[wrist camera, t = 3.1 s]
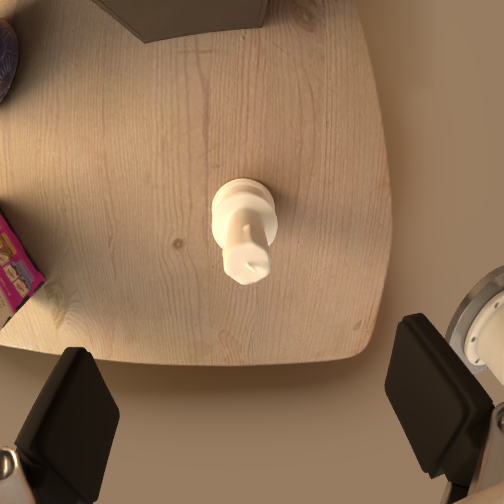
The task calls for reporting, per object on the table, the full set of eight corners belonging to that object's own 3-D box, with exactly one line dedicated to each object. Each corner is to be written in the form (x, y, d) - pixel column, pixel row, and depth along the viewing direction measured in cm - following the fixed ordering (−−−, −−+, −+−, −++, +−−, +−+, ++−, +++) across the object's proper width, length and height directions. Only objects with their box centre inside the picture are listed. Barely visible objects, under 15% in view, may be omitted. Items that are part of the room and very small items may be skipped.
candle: (284, 191, 27) (317, 238, 16) (261, 246, 29) (276, 324, 17) (224, 169, 26) (214, 201, 15) (203, 227, 28) (182, 296, 17)
